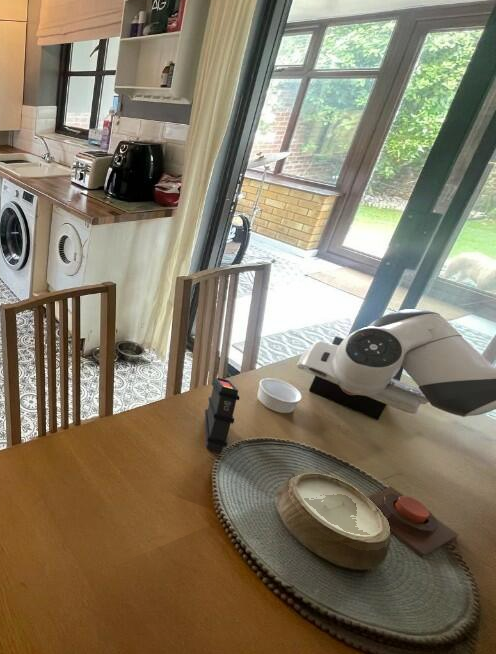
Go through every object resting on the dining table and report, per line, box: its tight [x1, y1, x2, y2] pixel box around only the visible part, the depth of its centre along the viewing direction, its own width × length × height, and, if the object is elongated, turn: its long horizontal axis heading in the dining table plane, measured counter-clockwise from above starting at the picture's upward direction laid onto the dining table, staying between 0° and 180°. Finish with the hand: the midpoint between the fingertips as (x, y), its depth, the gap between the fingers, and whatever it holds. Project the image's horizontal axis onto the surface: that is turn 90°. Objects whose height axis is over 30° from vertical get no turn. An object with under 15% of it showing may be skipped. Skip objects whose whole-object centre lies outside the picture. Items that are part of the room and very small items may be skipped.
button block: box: [367, 486, 459, 559], centre depth 74 cm, size 10×10×4 cm
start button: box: [395, 495, 430, 523], centre depth 73 cm, size 4×4×2 cm
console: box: [308, 336, 404, 421], centre depth 105 cm, size 12×14×12 cm
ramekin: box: [257, 377, 303, 414], centre depth 103 cm, size 9×9×4 cm
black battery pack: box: [204, 376, 240, 454], centre depth 93 cm, size 4×13×15 cm, turn 155°
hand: (350, 388), depth 93 cm, fingers closed
